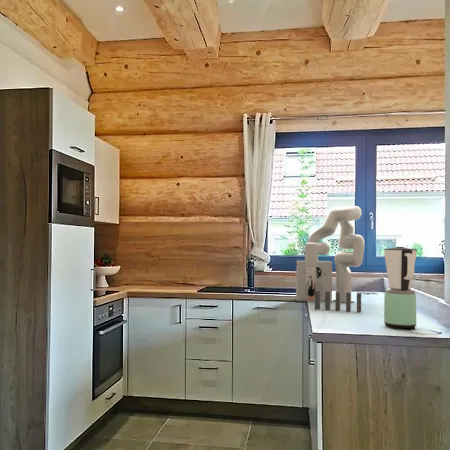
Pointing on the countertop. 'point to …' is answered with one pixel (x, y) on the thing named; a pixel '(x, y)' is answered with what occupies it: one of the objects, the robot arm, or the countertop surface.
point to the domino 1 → (311, 296)
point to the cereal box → (321, 283)
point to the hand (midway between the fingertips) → (311, 295)
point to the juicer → (400, 288)
